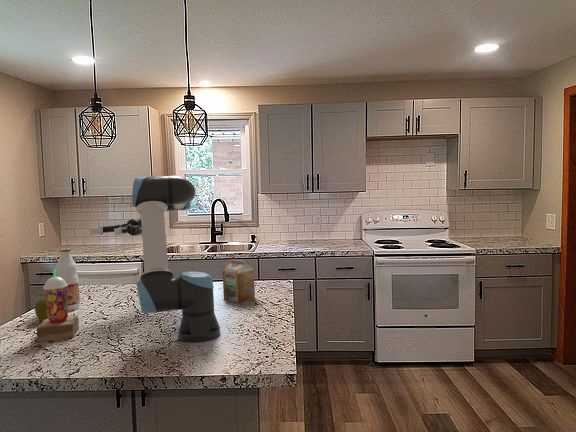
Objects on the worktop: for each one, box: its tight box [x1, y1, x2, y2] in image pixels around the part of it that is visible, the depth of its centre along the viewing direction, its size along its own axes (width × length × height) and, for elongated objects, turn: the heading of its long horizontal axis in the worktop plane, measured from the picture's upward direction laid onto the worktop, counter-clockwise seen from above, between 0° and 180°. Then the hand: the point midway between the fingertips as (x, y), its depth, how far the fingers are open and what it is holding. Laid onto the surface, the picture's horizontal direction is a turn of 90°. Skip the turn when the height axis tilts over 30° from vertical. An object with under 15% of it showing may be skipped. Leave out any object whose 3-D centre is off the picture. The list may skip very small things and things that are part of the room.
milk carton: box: [222, 258, 256, 304], centre depth 213 cm, size 11×11×19 cm
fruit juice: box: [54, 247, 81, 312], centre depth 206 cm, size 9×9×28 cm
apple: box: [34, 297, 48, 322], centre depth 189 cm, size 10×10×11 cm
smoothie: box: [42, 268, 69, 323], centre depth 170 cm, size 8×8×20 cm
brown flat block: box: [36, 315, 80, 343], centre depth 170 cm, size 12×12×5 cm
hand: (102, 231), depth 186 cm, fingers open, 13 cm apart
